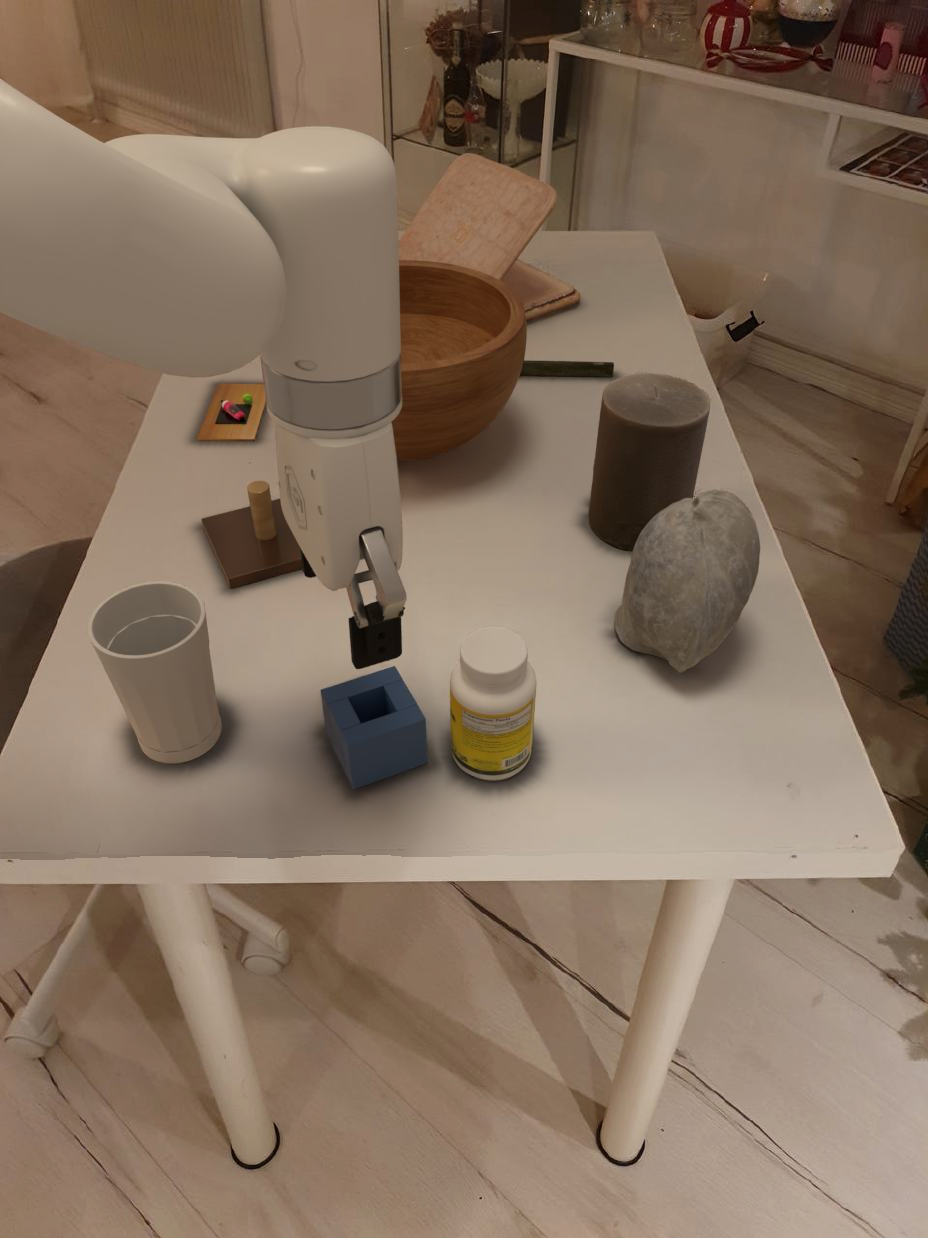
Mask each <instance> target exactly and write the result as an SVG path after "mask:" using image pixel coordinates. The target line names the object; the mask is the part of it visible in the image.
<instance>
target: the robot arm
mask: <svg viewBox="0 0 928 1238" xmlns="http://www.w3.org/2000/svg"><path fill="white" fill-rule="evenodd" d="M398 193H399V192H398V178H397V169H396V165H395V162H394V160H393V156H392V155H391V154H390V152H389V151H388V150H387V148H386V147H385V145H384V144H382V143H381V142H380V141H379V140H377V139H376V138H374V137H373V136H371V135H369V134H366V133H363V132H360V131H357V130H353V129H349V128H346V127H345V128H344V127H337V126H325V125H323V126H321V125H316V126H315V125H314V126H311V125H310V126H297V127H290V128H289V127H288V128H285V129H280V130H277V131H273V132H270V133H266V134H265V135H263V136H259V137H251V138H250V137H241V138H240V137H214V136H213V137H211V136H209V137H208V136H194V135H183V134H181V135H180V134H165V133H164V134H163V133H142V134H141V133H140V134H131V135H126V136H125V135H124V136H121V137H117V138H113V139H110V140H108V141H105V142H103V141H101V140H99V139H97V138H95V137H93V135H92V136H91V135H90V134H88V133H87V132H85V131H83V130H82V129H80V128H78V127H76V126H75V125H73V124H71V123H69V122H67V121H66V120H64V119H63V118H62V117H60V116H58V115H57V114H55V113H53V112H52V111H51V110H49V109H47V108H46V107H44V106H42V105H40V104H39V103H37V101H34V100H33V99H32V98H30V97H29V96H27V95H26V94H24V93H23V92H21V91H20V90H18V89H16V88H15V87H14V86H12V85H11V84H8V83H7V82H6V81H5V80H4V79H2V78H0V313H1V314H4V315H6V316H8V317H10V318H12V319H14V320H17V321H18V322H21V323H24V324H26V325H28V326H31V327H33V328H35V329H38V330H40V331H42V332H45V333H47V334H50V335H52V336H55V337H58V338H61V339H63V340H66V341H69V342H72V343H74V344H76V345H79V346H82V347H83V348H84V347H85V348H87V349H89V350H92V351H94V352H98V353H100V354H103V355H106V356H109V357H111V358H113V359H117V360H119V361H122V362H124V363H127V364H130V365H133V366H136V367H139V368H142V369H145V370H148V371H152V372H157V373H159V374H164V375H169V376H173V377H174V376H175V377H183V378H191V379H193V378H211V377H217V376H221V375H225V374H229V373H231V372H234V371H237V370H239V369H241V368H244V367H245V366H246V365H248V364H250V363H251V362H253V361H254V360H255V359H257V358H258V357H259V358H260V366H261V373H262V374H261V375H262V382H263V384H264V390H265V398H266V404H265V406H266V410H267V414H268V416H269V418H270V419H271V421H272V422H273V423H274V431H275V432H274V434H275V448H276V462H277V476H278V490H279V499H280V501H281V507H282V511H283V514H284V517H285V519H286V521H287V523H288V525H289V527H290V529H291V531H292V533H293V535H294V537H295V539H296V540H297V542H298V544H299V546H300V552H301V560H302V569H301V570H302V573H303V574H304V576H305V577H306V578H309V579H312V578H313V579H314V578H317V579H318V581H319V582H320V583H321V584H322V585H323V587H325V588H326V589H328V590H330V591H332V592H337V591H339V590H341V589H346V593H347V596H348V600H349V605H350V607H351V610H352V614H353V615H352V616H351V617H348V629H349V630H348V631H349V644H350V645H349V646H350V658H351V664H352V665H353V667H354V669H355V670H361V669H365V668H370V667H371V666H375V665H378V664H381V663H385V662H389V661H392V660H395V659H398V658H399V657H401V656H402V655H403V639H402V638H403V636H402V634H403V633H402V630H403V629H402V617H403V616H404V613H405V610H406V607H405V605H406V603H407V593H406V588H405V586H404V584H403V581H402V578H401V576H400V573H399V571H400V569H401V566H402V562H403V546H404V542H403V537H404V536H403V534H404V533H403V514H402V501H401V499H402V498H401V489H400V477H399V467H398V460H397V456H396V450H395V442H394V435H393V428H392V421H393V420H394V419H395V418H396V417H397V416H398V414H399V413H400V410H401V408H402V376H401V339H400V288H399V240H400V238H399V197H398ZM362 560H364V561H365V564H366V566H367V570H363V571H359V572H357V569H358V567H359V564H360V561H362ZM369 581H372V582H373V584H374V589H375V593H376V594H375V601H373V602H370V603H368V604H365V602H364V599H363V595H362V592H361V587H360V584H362V583H366V582H369Z"/></svg>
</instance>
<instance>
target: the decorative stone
mask: <svg viewBox="0 0 928 1238" xmlns="http://www.w3.org/2000/svg"><path fill="white" fill-rule="evenodd" d="M751 512H752V511H751V510H750V509H749V507H748V506H747V504H746V503H745V502H744V501H743V500H742V499H741V498H740V497H738V496H737V495H736V494H734V493H732V492H729V491H728V490H727V491H726V490H722V489H711V490H706V491H703V492H700V493H697V495H695V496H693V499H692V498H684V499H682V500H680V501H678V502H675V503H672V504H671V505H669V506H668V507H666V508H665V509H663V510H662V511H660V512H659V513H657V514H656V515H655V516H654V517H653V518H652V519H651V520H650V521H649V522H648V524H647V525H646V526H645V527H644V529H643V530H642V532H641V533H640V535H639V537H638V539H637V541H636V543H635V546H634V549H633V551H631V557H630V562H629V565H628V567H627V573H626V576H625V581H624V586H623V592H622V599H621V604H620V606H618V608H617V609H616V610H615V612H614V624H615V632H616V635H617V637H618V639H619V641H620V642H621V643H622V644H623V645H625V646H626V647H627V648H628V649H630V650H632V651H634V652H637V653H641V654H646V655H649V656H654V657H658V658H661V659H662V660H665V661H668V663H669V665H670V666H671V667H672V668H673V669H674V670H675V671H677V672H678V673H684V672H686V671H687V670H688V669H690V668H693V667H694V666H696V665H697V664H698V663H699V662H700V661H701V660H702V659H704V658H707V657H708V656H709V655H711V654H712V653H714V652H715V651H716V650H717V648H718V647H719V646H721V644H722V643H723V641H724V640H726V638H727V636H728V635H729V634H730V632H731V631H732V630H733V628H734V626H735V625H736V623H737V622H738V621H739V620H740V617H741V616H742V613H743V610H744V609H745V607H746V605H747V603H748V601H749V600H750V597H751V594H752V592H753V590H754V587H755V584H756V582H757V577H758V574H759V568H760V556H761V542H760V534H759V530H758V526H757V523H756V520H755V519H754V516H753V514H752V513H751Z"/></svg>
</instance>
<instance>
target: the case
mask: <svg viewBox="0 0 928 1238" xmlns="http://www.w3.org/2000/svg"><path fill="white" fill-rule="evenodd" d="M452 161H453V162H451V164H450V165H449V166H448V168H447V170H446V171H445V172H444V174H443V175H442V177H441V179H440V180H439V181H438V183H437V184H436V186H435V187H434V188H433V190H432V192H431V193H430V194H429V195H428V197H427V199H426V200H425V202H423V204H422V207H421V208H419V211H418V212H417V213H416V215H415V216H414V218H413V219H412V221H411V222H410V223H409V226H408V227H406V229H405V231H404V232H403V234H402V235H401V236H400V238H399V260H416V261H431V262H440V263H447V264H453V265H458V266H463V267H467V268H470V269H474V270H477V271H480V272H483V273H485V274H488V275H490V276H492V277H494V278H496V279H498V280H500V281H502V282H503V283H505V284H506V285H508V286H509V287H510V288H512V289H513V290H514V291H515V292H516V293H517V294H518V296H519V297H520V299H521V300H522V302H523V305H524V308H525V314H526V321H528V320H531V319H535V318H538V317H540V316H543V315H546V314H548V313H551V312H555V311H558V310H561V309H563V308H566V307H569V306H572V305H574V304H576V303H578V302H579V301H580V299H581V293H580V292H579V290H578V289H576V288H575V287H574V286H573V285H571V284H570V283H568V282H565V281H563V280H561V279H558V278H556V277H554V276H552V275H550V274H549V273H547V272H546V271H543V270H542V269H540V268H538V267H535V266H533V265H531V264H529V263H526V262H524V261H522V260H520V259H519V257H520V256H521V254H522V253H523V252H524V250H525V249H526V247H527V246H528V245H529V243H530V242H531V240H532V239H533V238H534V237H535V236H536V234H537V233H538V232H539V230H540V228H541V227H542V226H543V225H544V224H545V222H546V221H547V219H548V218H549V216H550V215H551V214H552V212H553V211H554V210H555V207H556V205H557V203H558V192H557V191H556V189H555V188H554V187H553V186H552V185H550V184H548V183H546V182H544V181H541V180H540V179H536V178H535V177H532V176H529V175H528V174H526V173H524V172H523V171H520V170H518V169H516V168H513V167H511V166H509V165H506V164H503V163H500V162H498V161H497V162H496V161H494V160H491V159H489V158H486V157H485V156H482V155H480V154H478V153H473V152H466V153H462V154H460V155H459V156H458V157H456V158H455V159H454V160H452Z"/></svg>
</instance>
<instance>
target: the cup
mask: <svg viewBox="0 0 928 1238" xmlns="http://www.w3.org/2000/svg"><path fill="white" fill-rule="evenodd" d="M207 618H208V617H207V611H206V605H205V602H204V600H203V598H202V597H201V595H200V594H199V592H197V591H196V590H194V589H193V588H191V587H189V586H187V585H185V584H183V583H178V582H175V581H167V580H157V581H156V580H154V581H145V582H139V583H135V584H132V585H129V586H126V587H124V588H122V589H119V590H118V591H115V592H114V593H112V594H110V595H109V596H108V597H106V598H105V599H104V600H102V601H101V602H100V603H99V604H98V605H97V606H96V607H95V609H94V610H93V611H92V612H91V615H90V617H89V620H88V622H87V636H88V639H89V641H90V643H91V644H92V647H93V648H94V650H95V652H96V655H97V656H98V659H99V661H100V663H101V665H102V666H103V669H104V671H105V673H106V675H107V677H108V679H109V682H110V683H111V686H112V687H113V689H114V691H115V694H116V697H117V698H118V700H119V702H120V704H121V706H122V708H123V711H124V713H125V715H126V717H127V719H128V721H129V723H130V725H131V727H132V730H133V732H134V734H135V736H136V738H137V741H138V745H139V746H140V749H141V751H142V752H143V753H144V754H145V756H147V757H148V758H150V759H151V760H153V761H156V762H157V763H158V762H159V763H162V764H181V763H186V762H190V761H192V760H195V759H198V758H199V757H201V756H203V755H204V754H206V753H207V752H208V751H210V750H211V749H213V747H214V746H215V744H216V743H217V742H218V740H219V739H220V736H221V734H222V729H223V724H222V717H221V715H220V711H219V708H218V701H217V694H216V687H215V686H216V685H215V679H214V672H213V664H212V658H211V650H210V638H209V637H210V635H209V629H208V619H207Z"/></svg>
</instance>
